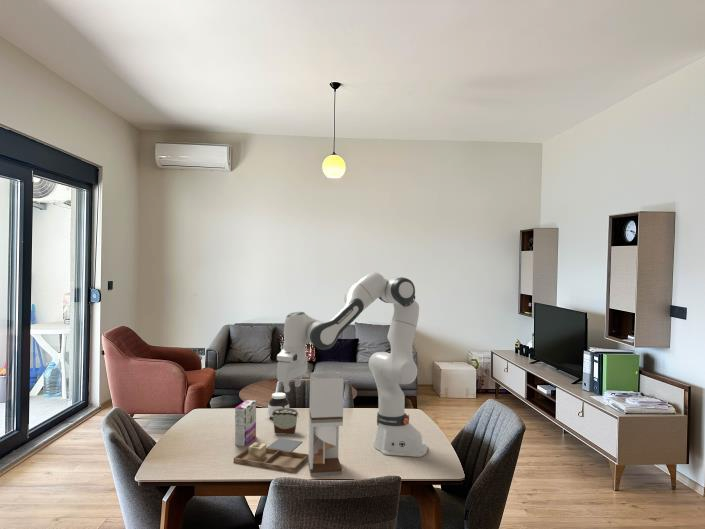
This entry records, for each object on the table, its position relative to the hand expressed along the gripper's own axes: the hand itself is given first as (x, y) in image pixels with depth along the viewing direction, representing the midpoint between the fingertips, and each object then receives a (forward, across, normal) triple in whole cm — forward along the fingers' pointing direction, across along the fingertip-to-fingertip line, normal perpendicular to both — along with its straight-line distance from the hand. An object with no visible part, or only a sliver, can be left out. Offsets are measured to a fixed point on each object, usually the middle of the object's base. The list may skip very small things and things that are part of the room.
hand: (292, 388), depth 177 cm
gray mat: (+28, -12, -8) cm, 31 cm away
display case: (+28, +2, +16) cm, 32 cm away
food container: (+28, -27, -15) cm, 42 cm away
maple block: (+28, +4, -12) cm, 30 cm away
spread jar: (+27, -45, -28) cm, 60 cm away
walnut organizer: (+28, +4, -6) cm, 29 cm away
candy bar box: (+28, -10, -26) cm, 39 cm away
